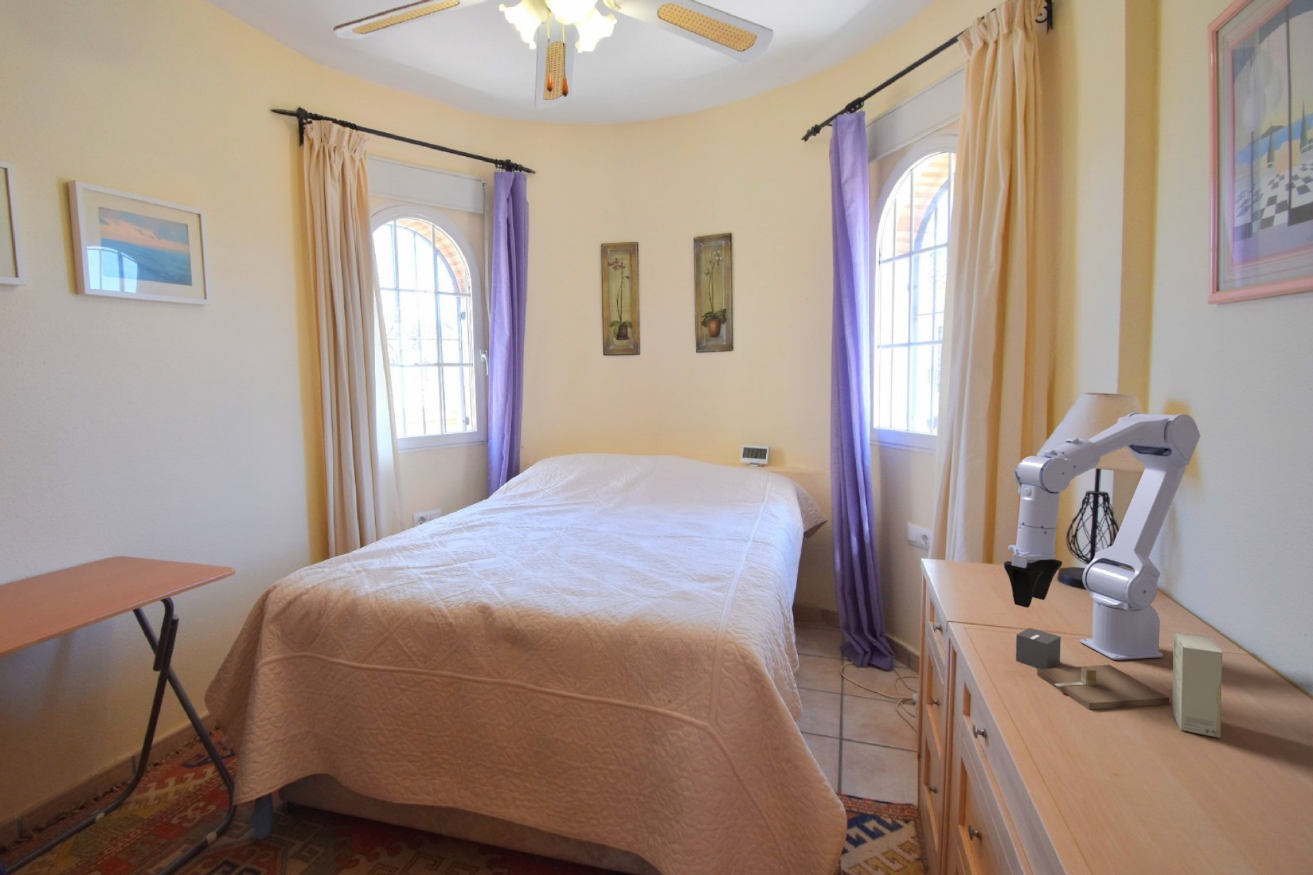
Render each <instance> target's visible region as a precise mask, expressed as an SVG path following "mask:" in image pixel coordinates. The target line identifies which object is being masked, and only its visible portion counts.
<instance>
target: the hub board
mask: <svg viewBox="0 0 1313 875" xmlns="http://www.w3.org/2000/svg"><path fill="white" fill-rule="evenodd" d="M1036 672H1037V673H1036V676H1038V677H1039V678H1041V679H1042V680H1044V681H1046V682H1047V683H1048V684H1050V685H1052V686H1053V687H1054V688H1056V689H1058V690H1059V691H1061V692H1062V693H1064V694H1065V695H1066V696H1068V697H1069V698H1071V699H1072V700H1074V701H1075V702H1077V703H1078V704H1080V705H1081V706H1082V707H1084V708H1086V709H1087V710H1101V709H1115V708H1116V709H1117V708H1129V707H1142V706H1143V707H1145V706H1154V705H1155V706H1158V705H1159V706H1160V705H1170V700H1171V699H1170V698H1171V697H1170V696H1168V695H1165V694H1164V693H1162V692H1160V691H1159V690H1157V689H1155V688H1154V687H1151V686H1149V685H1147V684H1146V683H1144V682H1142V681H1140V680H1139V679H1137V678H1135V677H1133V676H1131V675H1130V674H1128V673H1126V672H1124V671H1122V670H1120V669H1118V668H1116V667H1114V666H1113V665H1111V664H1101V665H1084V666H1083V665H1082V666H1066V667H1053V668H1050V669H1039V668H1037V669H1036Z"/></svg>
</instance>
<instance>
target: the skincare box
mask: <svg viewBox="0 0 1313 875" xmlns="http://www.w3.org/2000/svg"><path fill="white" fill-rule="evenodd" d="M1172 657H1173V660H1172V661H1173V664H1172V665H1173V666H1172V669H1173V670H1172V671H1173V672H1172V714H1173V716H1174V718H1175V720H1176V722H1177V725H1178V727H1179V729H1180V730H1181V731H1184V732H1185V731H1186V732H1189V733H1193V734H1199V735H1203V736H1208V737H1213V738H1218V739H1219V738H1221V733H1222V730H1221V729H1222V728H1221V726H1222V724H1221V723H1222V683H1223V682H1222V676H1223V671H1222V670H1223V651H1222V649H1221V647H1220V646H1219V645H1218V644H1217V643H1216V641H1215V639H1213V638H1212V637H1210V636H1209V637H1208V636H1202V635H1194V634H1188V633H1187V634H1186V633H1181V632H1173V656H1172Z"/></svg>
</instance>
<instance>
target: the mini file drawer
mask: <svg viewBox="0 0 1313 875" xmlns="http://www.w3.org/2000/svg"><path fill="white" fill-rule="evenodd" d="M1061 638H1062V636H1061V635H1057V634H1053V633H1049V632H1046V631H1044V630H1043V631H1042V630H1039V629H1036V628H1033V627H1029V628H1027V629H1024V630H1022V631H1020V632H1019V633H1017V634H1016V642H1015V643H1016V645H1015V646H1016V647H1015V648H1016V649H1015V650H1016V651H1015V661H1016V662H1019V663H1022V664H1026V665H1028V666H1029V667H1030V666H1031V667H1033V668H1037V669H1050V668H1055V667H1056V666H1057V665H1059V664H1061V641H1062V640H1061Z"/></svg>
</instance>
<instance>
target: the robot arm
mask: <svg viewBox="0 0 1313 875" xmlns="http://www.w3.org/2000/svg"><path fill="white" fill-rule="evenodd" d="M1200 438H1201V434H1200V431H1199V428H1198V425H1197V422H1196V421H1195V420H1194V418H1193V417H1192V416H1191V415H1189V414H1185V413H1183V414H1182V413H1180V414H1164V413H1163V414H1162V413H1161V414H1159V413H1155V414H1154V413H1140V412H1131V413H1130V412H1129V413H1128V414H1127V415H1124V416H1122V417H1121V416H1120V417H1119V418H1118V420H1117V421H1116V423H1115V424H1113V425H1111V426H1109V427H1108V428H1106V429H1105V430H1103V431H1101V432H1099V433H1097V434H1096V435H1093V437H1091V438H1089V439H1085V438H1082V437H1081V438H1080V437H1079V438H1078V437H1068V438H1067V439H1065V443H1064V444H1061V445H1059V446H1057V447H1055V448H1052V449H1050V448H1049V449H1047V450H1044V452H1043V454H1042V453H1041V455H1040V456H1039V455H1038V456H1037V455H1036V456H1035V455H1029V456H1027V457H1025V458H1023V459H1021V461H1020V462H1019V463H1018V464H1017V466H1016V469H1014V471H1013V477H1014V480H1015V482H1016V483H1017V486H1018V490H1017V493H1018V495H1019V500H1020V501H1019V506H1018V507H1019V508H1018V519H1017V520H1018V521H1017V528H1016V543H1015V544H1010V545H1008V546H1007V547H1008V548H1007V550H1008V551H1013V554H1012V558H1011V559H1012V561H1010V560H1008V561H1007V560H1006V561H1005V562H1004V563H1003V567H1004V570H1005V572H1006V574H1007V576H1008V578H1009V582H1010V585H1011V591H1012V597H1013V603H1014V605H1016V606H1018V607H1023V608H1027V609H1028V608H1029V607H1030V606H1031V603H1032V601H1033V599H1038V600H1042V601H1044V600H1046V598H1047V595H1048V593H1049V589H1050V587H1051V584H1052V581H1053V579H1054V577H1055V576H1056V573H1057V572H1058V570H1059V569H1060V568H1061V567H1062V565H1063V561H1062V560H1059V559H1056V553H1057V552H1056V540H1057V529H1058V528H1057V527H1058V518H1059V508H1060V500H1061V498H1060V497H1061V492H1064V491H1065V490H1066V489H1068V487H1069V486H1070V484H1071V482H1072V480H1073V479H1075V478H1076V477H1078V476H1080V475H1082V474H1084V473H1086V472H1088V471H1090V470H1093V469H1094V468H1096V467H1098V465H1099V464H1100V463H1101V462H1100V461H1101V457H1104V456H1107V455H1109V454H1111V453H1114V452H1116V451H1118V450H1121V449H1123V448H1126V447H1127V449H1128V450H1129V451H1130V453H1131V454H1132V456H1134V458H1135V459H1136V460H1137V461H1139V462H1140V463H1142V465H1143V467H1144V470H1143V472H1142V476H1141V477H1140V479H1139V482H1138V485H1137V487H1136V489H1135V491H1134V494H1133V497H1132V499H1131V502H1130V504H1129V505H1128V508H1127V510H1126V513H1125V515H1124V518H1123V520H1122V523H1121V525H1120V527H1119V530H1118V532H1117V534H1116V537H1115V539H1114V542H1113V544H1112V545H1111V546H1108V547H1106V548H1102V549H1101V550H1099V551H1097V552H1095V555H1094V557H1093V559H1092V560H1091V561H1090V562H1089V563H1088V564H1087V565H1086V567H1085V568H1084V570H1083V572H1082V573H1083V574H1082V584H1083V587H1084V588H1085V589H1086V590H1087V591H1088V592H1089V597H1090V598H1092V599H1093V602H1092V627H1091V628H1092V629H1091V631H1092V633H1091V634H1092V635H1091V636H1092V637H1091V638H1081V639H1079V642H1080V643H1081V644H1083V645H1085V646H1087V647H1089V648H1091V649H1093V650H1094V651H1096V652H1098V653H1100V654H1102V655H1104V656H1106V657H1107V658H1109V659H1111V660H1114V661H1121V660H1135V659H1137V660H1139V659H1151V658H1152V659H1153V658H1163V656H1164V655H1163V653H1161V652H1160V629H1161V627H1160V625H1161V619H1160V617H1159V614H1158V612H1157V610H1156V609H1155V608H1154V606H1152V603H1153V602H1154V601H1155V599H1156V597H1157V594H1158V582H1159V578H1160V576H1161V573H1160V570H1158V568H1157V567H1156V565H1155V564H1154V563H1153V562H1152V561H1151V560H1150V558H1149V557H1150V555H1151V553H1152V551H1153V548H1154V546H1155V543H1156V541H1157V539H1158V536H1159V534H1160V531H1161V529H1162V526H1163V525H1164V521H1165V519H1166V516H1167V515H1168V513H1169V510H1170V508H1171V505H1172V503H1173V502H1174V498H1175V495H1176V493H1177V491H1178V488H1179V486H1180V484H1181V481H1182V479H1183V477H1184V474H1185V472H1186V468H1187V466H1188V465H1189V464H1190V462H1191V460H1192V457H1193V455H1194V452H1195V450H1196V448H1197V445H1198V442H1199V440H1200Z"/></svg>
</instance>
